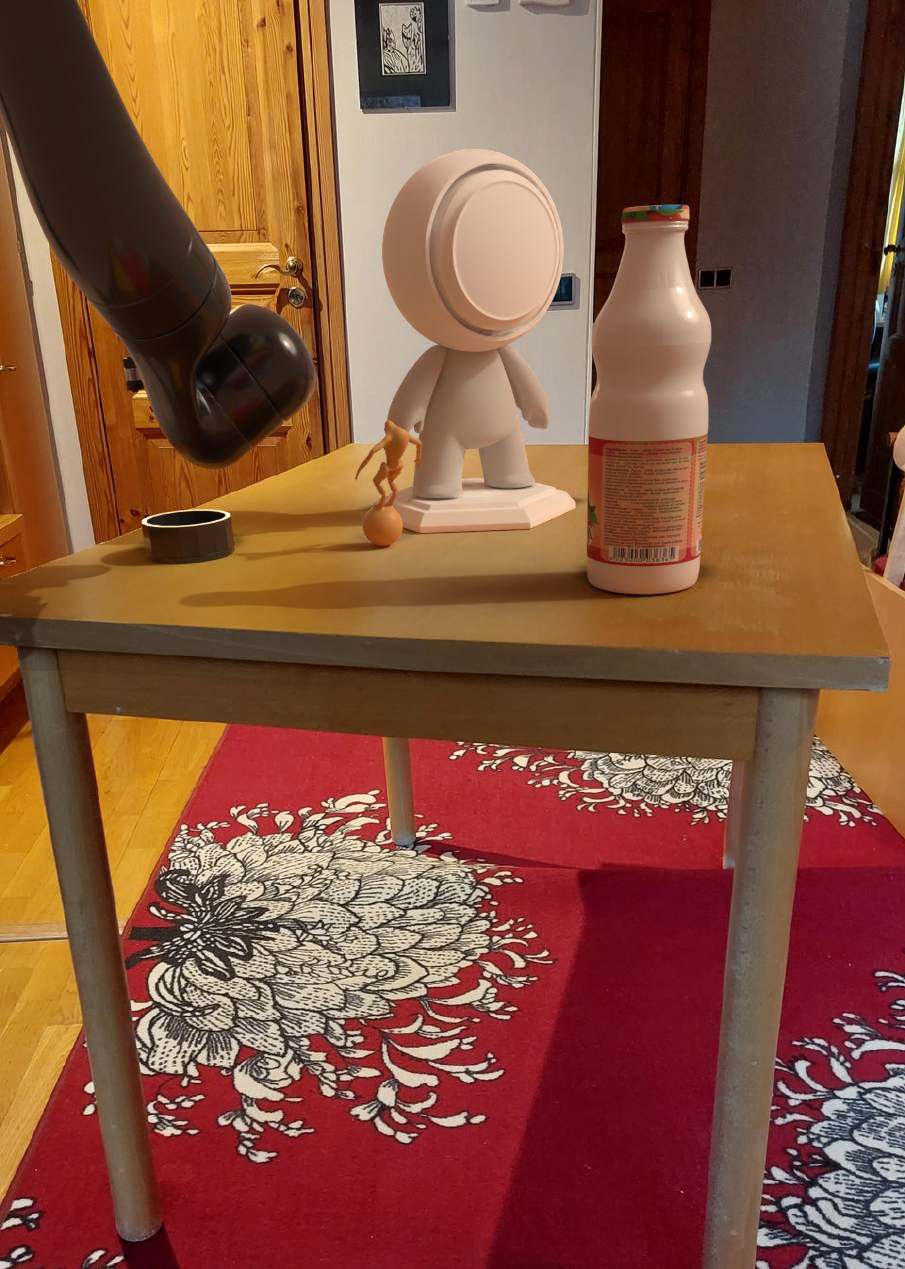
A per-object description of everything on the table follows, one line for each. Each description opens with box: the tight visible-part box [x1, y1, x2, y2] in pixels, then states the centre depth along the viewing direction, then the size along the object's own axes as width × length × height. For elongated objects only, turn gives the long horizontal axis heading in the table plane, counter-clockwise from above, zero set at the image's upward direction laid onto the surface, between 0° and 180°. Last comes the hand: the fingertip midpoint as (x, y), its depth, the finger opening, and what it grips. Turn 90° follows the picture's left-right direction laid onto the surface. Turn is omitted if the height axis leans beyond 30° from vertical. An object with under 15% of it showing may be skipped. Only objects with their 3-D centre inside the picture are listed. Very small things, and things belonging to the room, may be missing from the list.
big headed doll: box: [372, 148, 577, 534], centre depth 116 cm, size 20×23×35 cm
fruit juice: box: [586, 204, 712, 595], centre depth 87 cm, size 9×9×28 cm
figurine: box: [354, 419, 422, 547], centre depth 107 cm, size 8×6×12 cm
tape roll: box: [140, 509, 236, 565], centre depth 109 cm, size 9×9×4 cm
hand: (201, 364), depth 99 cm, fingers closed on candle, 5 cm apart
